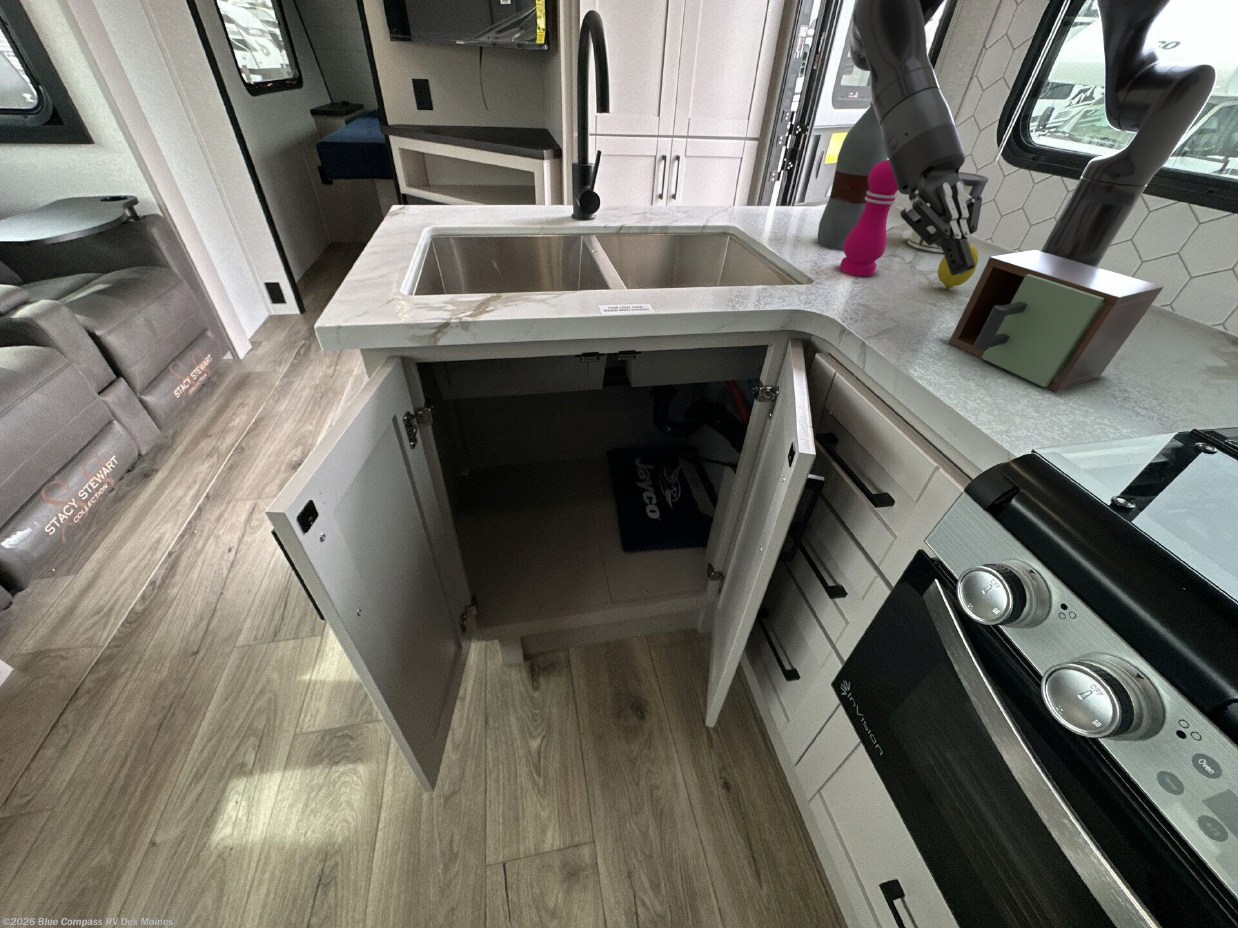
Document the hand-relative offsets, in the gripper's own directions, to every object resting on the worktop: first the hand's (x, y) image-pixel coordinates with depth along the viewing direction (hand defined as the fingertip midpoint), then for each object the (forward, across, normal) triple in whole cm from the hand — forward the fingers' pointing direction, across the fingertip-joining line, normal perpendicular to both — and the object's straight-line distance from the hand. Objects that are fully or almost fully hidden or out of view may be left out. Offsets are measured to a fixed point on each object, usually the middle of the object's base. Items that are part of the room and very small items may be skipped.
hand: (963, 271), depth 64 cm
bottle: (-23, +28, +39) cm, 53 cm away
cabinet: (+12, +10, +3) cm, 17 cm away
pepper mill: (-13, +18, +28) cm, 36 cm away
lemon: (-4, +27, +19) cm, 33 cm away
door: (+14, +2, +1) cm, 14 cm away
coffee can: (-18, +49, +34) cm, 62 cm away
